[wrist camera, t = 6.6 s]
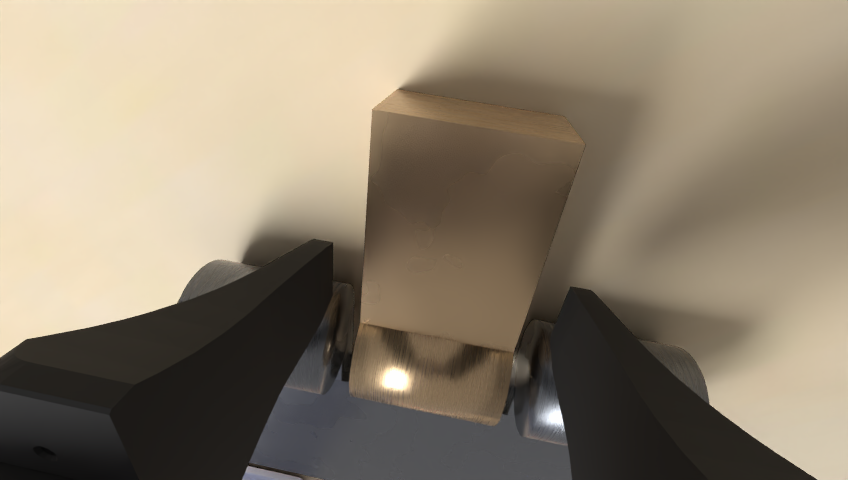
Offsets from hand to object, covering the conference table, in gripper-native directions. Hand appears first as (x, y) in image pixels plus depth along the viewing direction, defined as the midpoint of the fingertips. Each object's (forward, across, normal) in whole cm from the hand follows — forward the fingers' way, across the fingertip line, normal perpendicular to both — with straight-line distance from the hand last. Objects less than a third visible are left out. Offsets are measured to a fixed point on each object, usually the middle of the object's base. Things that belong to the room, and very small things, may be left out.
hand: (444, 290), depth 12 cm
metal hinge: (+3, 0, +8) cm, 8 cm away
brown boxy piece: (+3, 0, 0) cm, 3 cm away
